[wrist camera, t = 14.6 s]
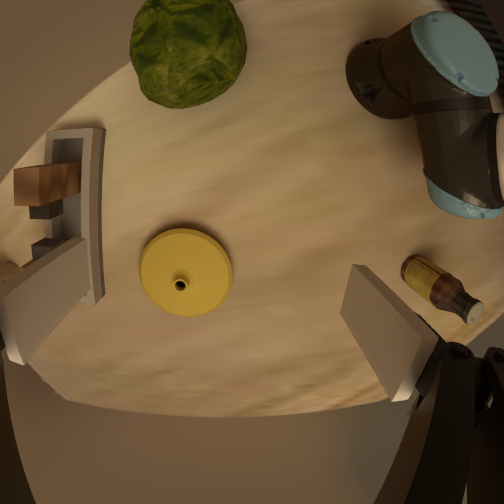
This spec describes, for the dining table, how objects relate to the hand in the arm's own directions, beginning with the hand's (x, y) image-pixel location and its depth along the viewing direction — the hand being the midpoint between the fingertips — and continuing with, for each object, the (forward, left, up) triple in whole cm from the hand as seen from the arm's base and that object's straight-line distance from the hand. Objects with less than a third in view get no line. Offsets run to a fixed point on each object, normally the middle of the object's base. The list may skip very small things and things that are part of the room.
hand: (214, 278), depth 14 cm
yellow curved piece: (+14, -6, -35) cm, 38 cm away
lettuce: (-23, -9, -35) cm, 43 cm away
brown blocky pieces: (+6, -27, -35) cm, 44 cm away
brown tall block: (0, -27, -33) cm, 43 cm away
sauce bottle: (+10, +37, -35) cm, 52 cm away
